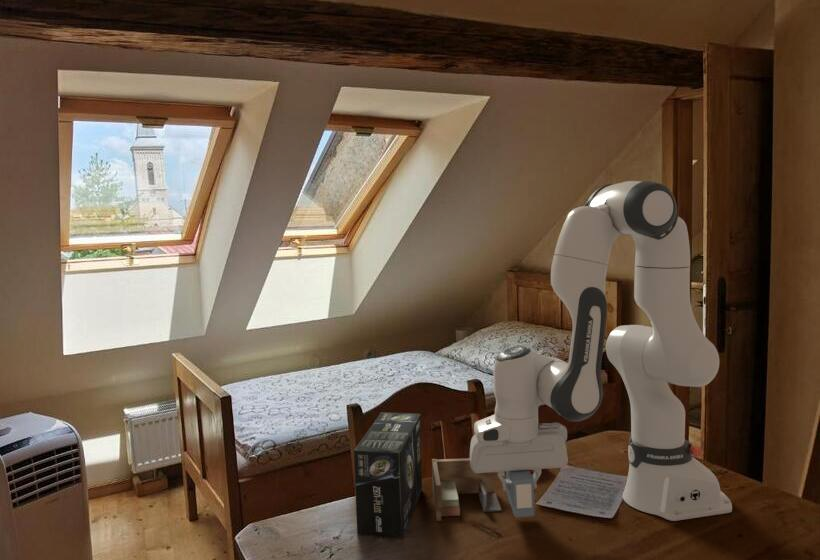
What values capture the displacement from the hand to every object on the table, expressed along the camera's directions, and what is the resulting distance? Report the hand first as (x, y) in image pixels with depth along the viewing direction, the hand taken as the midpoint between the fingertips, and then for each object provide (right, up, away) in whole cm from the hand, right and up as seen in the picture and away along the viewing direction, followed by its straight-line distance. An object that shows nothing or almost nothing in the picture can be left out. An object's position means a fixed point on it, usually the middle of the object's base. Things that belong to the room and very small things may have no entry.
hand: (519, 488), depth 136 cm
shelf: (-10, -7, +10) cm, 16 cm away
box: (-27, -8, +7) cm, 29 cm away
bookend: (-5, -6, +10) cm, 13 cm away
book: (0, -4, +1) cm, 4 cm away
